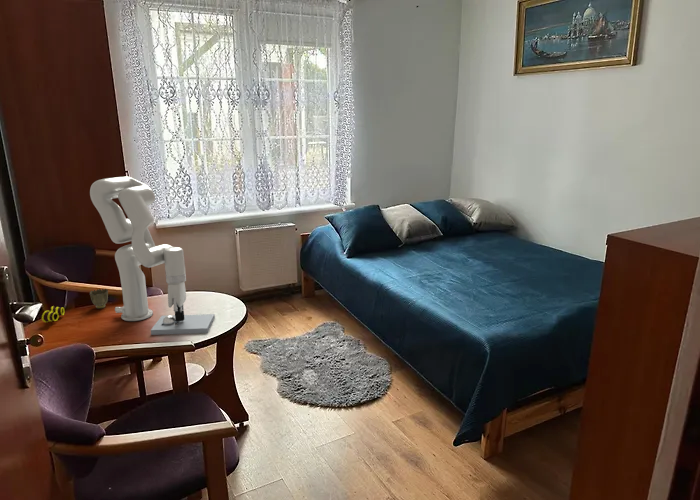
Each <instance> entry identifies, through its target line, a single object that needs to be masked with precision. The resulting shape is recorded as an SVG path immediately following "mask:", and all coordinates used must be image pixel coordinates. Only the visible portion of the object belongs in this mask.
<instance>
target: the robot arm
mask: <svg viewBox="0 0 700 500" xmlns="http://www.w3.org/2000/svg"><path fill="white" fill-rule="evenodd" d="M89 196H90V200H91V202H92V204H93V206H94V207H95V208H96V210H97V212H98V213H99V216H100V217H101V219H102V222H103V224H104V226H105V230H106V231H107V233H108V236H109V238H110V239H111V241H112V242H113V243H115V244H126V243H129V242H131V243H130V244H126V245H124V246H121V247H119V248H118V249H117V250H116V252H115V253H114V260H115V263H116V266H117V269H118V272H119V277H120V284H121V293H122V302H123V306H115V308H114V311H115V314H120V313H121V317H120V318H121V319H122V320H124V321H125V322H139V321H142V320H145V319H149V318H150V317H152V316H153V315H154V311H153V310H152V309H151V308H149V302H148V300H149V299H148V293H147V286H146V285H147V284H146V283H147V282H146V276H145V274H144V271H142V269H141V268H140V266H141V265H142V266H143V267H144V268H153V267H156V266H159V265H163V264H164V269H165V271H164V272H165V279H166V284H167V305H168V306H167V307H168V308H173V312H174V315H175V320H176V321H184V315H185V311H184V303H185V302H186V299H187V292H186V291H187V290H186V284H185V282H187V275H186V263H185V255H184V254H185V253H184V249H183V248H182V247H178V246H172V245H170V244H166V243H163V244H159V245H156V244H155V240H153V237H152V235H151V232H150V230H149V227H150V226H151V225H153V223H154V222H155V220H154V217H153V215H152V213H151V211H150V208H149V207H148V206H151V205H153V204H154V202H155V200H156V196H155V192H154V191H153V189H152V187H150V186H148V185H147V184H145V183H143V182H141V181H139V180H137V179H135V178H133V177H131V176H126V175H125V176H116V177H106V178H102V179H98V180H95V181H94V182H93V183H92V184H91V186H90V189H89ZM113 199H118V201H119V204H120V205H121V206H119V204H117V203H116V202H115V201H114V200H113ZM121 207H122V208H123V209H122V208H121ZM125 214H126V215H125ZM126 216H127V218H126ZM172 306H173V307H172Z"/></svg>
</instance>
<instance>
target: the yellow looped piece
mask: <svg viewBox="0 0 700 500" xmlns="http://www.w3.org/2000/svg"><path fill="white" fill-rule="evenodd" d="M64 315H65V308H64V307H59V306H56V307H55V306H54V305H53V306H51V307H50V310H45V311H44V312H43V313H42V315H41V320H42V322H43V323H50V322H53V321H54V322H56V321H58V320H59V317H60V316H64Z"/></svg>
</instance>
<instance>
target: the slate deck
mask: <svg viewBox="0 0 700 500" xmlns="http://www.w3.org/2000/svg"><path fill="white" fill-rule="evenodd" d="M215 315H216V314H215V313H210V314H209V313H207V314H206V313H205V314H201V313H200V314H184V321H176V323H175V325H164V324H163V319H164V318H165V317H166V316H168V315H161V316H160V317H159V319H158V320H157V321H156V322H155V323H154V325H153V326H152V328H151V329H150V335H151V336H152V335H155V336H156V335H186V334H187V335H188V334H190V335H191V334H208V333H209V332H210V331H209V330H210V329H211V326H212V324H213V323H214V319H215V317H216V316H215ZM171 316H173V317H175V314H174V315H173V314H172V315H171Z"/></svg>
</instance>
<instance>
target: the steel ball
mask: <svg viewBox="0 0 700 500" xmlns="http://www.w3.org/2000/svg"><path fill="white" fill-rule="evenodd" d="M165 316H166V317H165V318H164V319H163V324H164V325H176V324H177V323H176V320H175V317H173V316H171V315H168V316H167V315H165Z"/></svg>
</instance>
